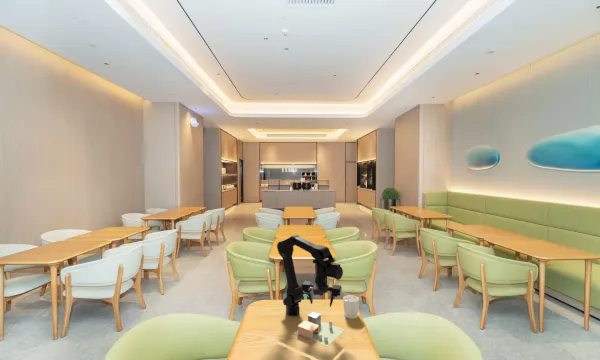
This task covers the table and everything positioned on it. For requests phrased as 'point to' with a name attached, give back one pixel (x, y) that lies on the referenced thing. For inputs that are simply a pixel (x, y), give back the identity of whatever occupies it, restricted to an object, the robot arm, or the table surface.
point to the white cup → (351, 306)
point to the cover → (308, 329)
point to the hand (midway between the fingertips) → (321, 305)
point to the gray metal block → (314, 318)
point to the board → (326, 333)
